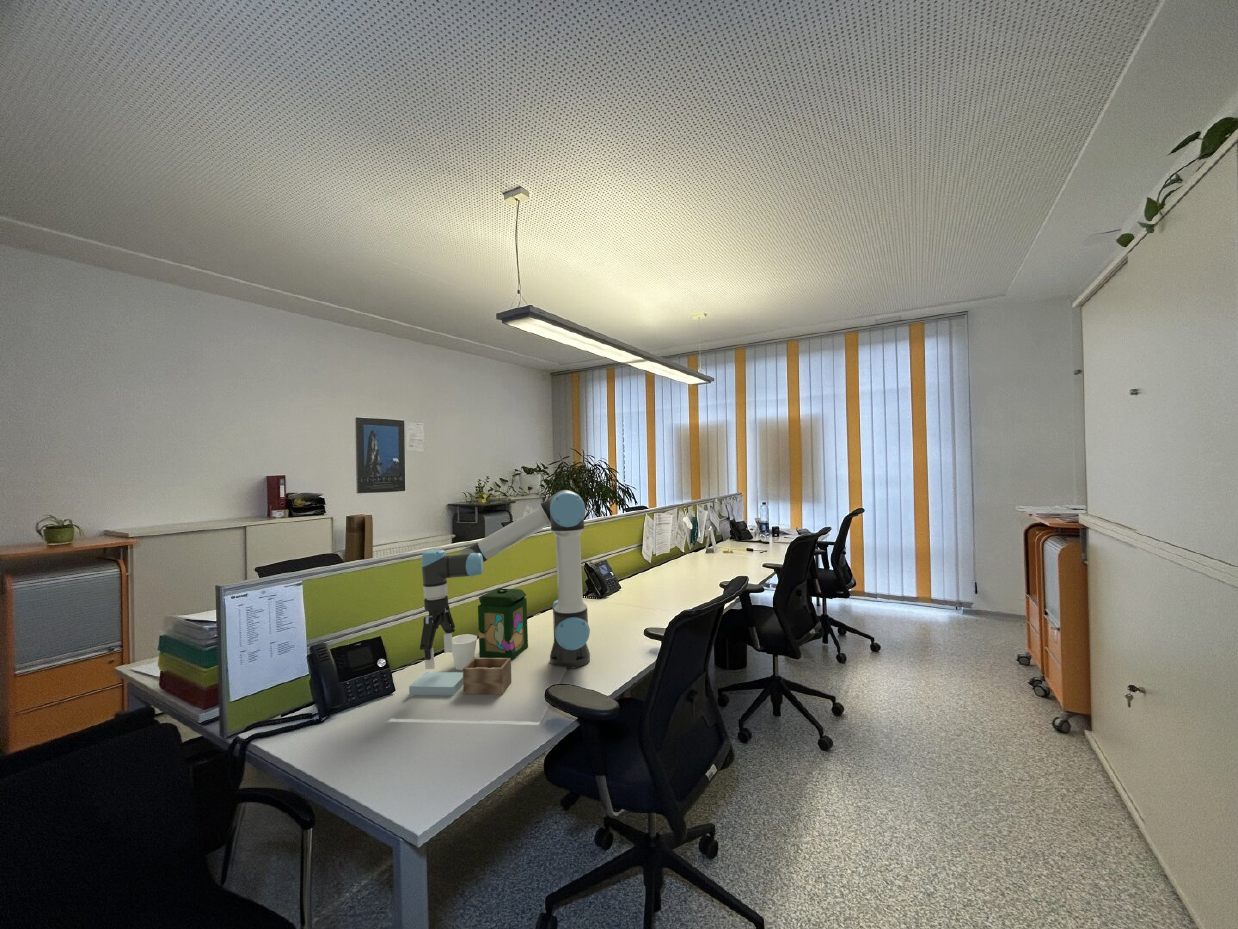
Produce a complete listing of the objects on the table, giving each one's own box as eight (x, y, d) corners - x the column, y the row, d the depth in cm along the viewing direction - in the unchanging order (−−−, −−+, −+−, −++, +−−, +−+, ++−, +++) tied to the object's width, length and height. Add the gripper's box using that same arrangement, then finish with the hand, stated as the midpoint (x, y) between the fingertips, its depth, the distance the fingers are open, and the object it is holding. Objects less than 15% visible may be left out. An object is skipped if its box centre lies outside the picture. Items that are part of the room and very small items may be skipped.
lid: (467, 682, 170) (467, 672, 170) (453, 697, 159) (453, 687, 159) (426, 682, 171) (425, 672, 171) (409, 697, 160) (409, 686, 160)
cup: (470, 675, 176) (469, 644, 176) (444, 673, 178) (443, 643, 178) (483, 663, 185) (482, 634, 185) (459, 662, 187) (458, 633, 187)
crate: (511, 684, 167) (510, 658, 167) (502, 697, 158) (501, 669, 158) (474, 684, 168) (473, 657, 168) (463, 696, 159) (462, 668, 159)
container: (495, 643, 206) (493, 584, 206) (533, 647, 201) (531, 586, 201) (475, 657, 192) (473, 593, 192) (516, 661, 187) (513, 595, 187)
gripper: (442, 587, 178) (445, 646, 178) (405, 608, 153) (409, 676, 153) (462, 586, 177) (465, 645, 177) (428, 607, 152) (432, 676, 152)
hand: (439, 660), depth 165 cm, fingers open, 13 cm apart
